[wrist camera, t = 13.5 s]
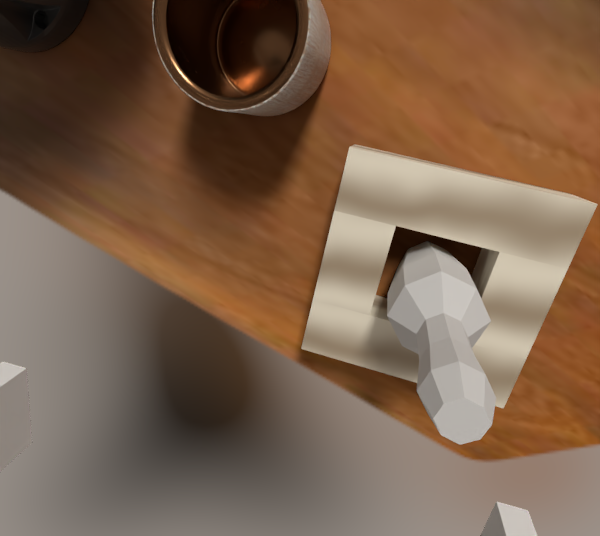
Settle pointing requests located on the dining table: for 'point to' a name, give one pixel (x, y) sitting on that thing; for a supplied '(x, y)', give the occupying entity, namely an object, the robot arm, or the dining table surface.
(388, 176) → the socket block
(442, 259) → the low poly bottle
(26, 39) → the robot arm
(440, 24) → the dining table surface
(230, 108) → the planter
